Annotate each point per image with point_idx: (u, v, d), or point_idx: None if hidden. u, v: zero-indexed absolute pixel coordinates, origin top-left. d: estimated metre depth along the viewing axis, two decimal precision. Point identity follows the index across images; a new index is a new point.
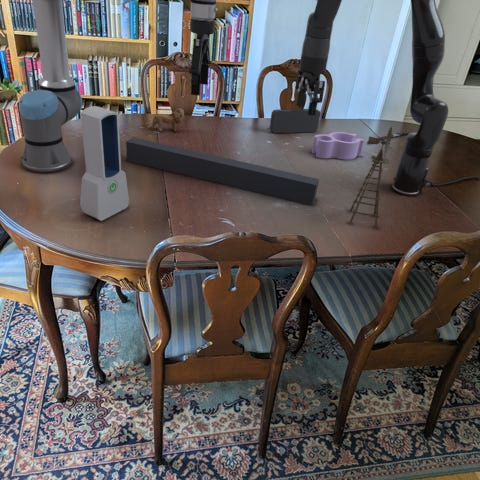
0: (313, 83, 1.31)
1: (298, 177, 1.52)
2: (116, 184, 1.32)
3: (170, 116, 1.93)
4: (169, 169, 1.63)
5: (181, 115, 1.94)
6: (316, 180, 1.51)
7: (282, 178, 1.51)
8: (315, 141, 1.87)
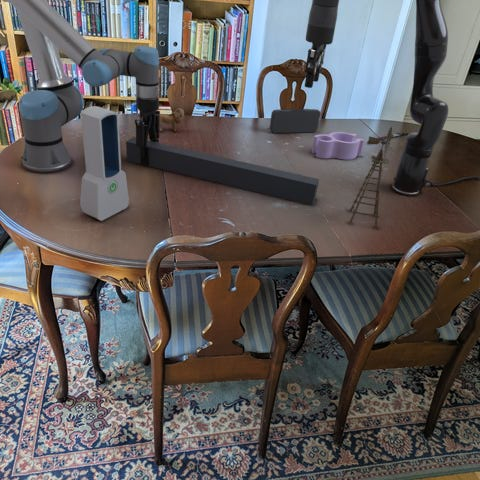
0: None
1: (298, 177, 1.52)
2: (116, 184, 1.32)
3: (170, 116, 1.93)
4: (169, 169, 1.63)
5: (181, 115, 1.94)
6: (316, 180, 1.51)
7: (282, 178, 1.51)
8: (315, 141, 1.87)
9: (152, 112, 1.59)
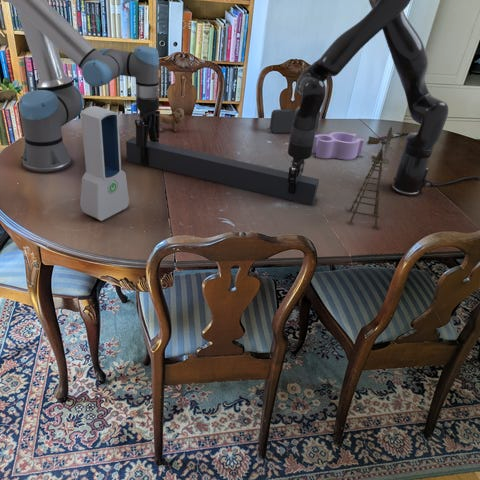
0: (292, 166, 1.46)
1: (298, 177, 1.52)
2: (116, 184, 1.32)
3: (170, 116, 1.93)
4: (169, 169, 1.63)
5: (181, 115, 1.94)
6: (316, 180, 1.51)
7: (282, 178, 1.51)
8: (315, 141, 1.87)
9: (152, 112, 1.59)
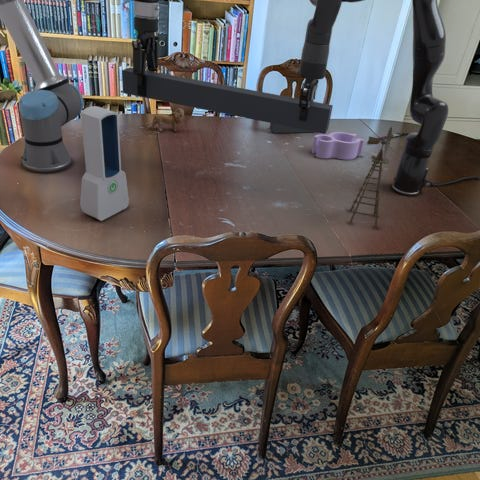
0: (304, 87, 1.33)
1: (310, 103, 1.39)
2: (116, 184, 1.32)
3: (170, 116, 1.93)
4: (169, 101, 1.50)
5: (181, 115, 1.94)
6: (329, 106, 1.38)
7: (292, 103, 1.38)
8: (315, 141, 1.87)
9: (151, 35, 1.46)
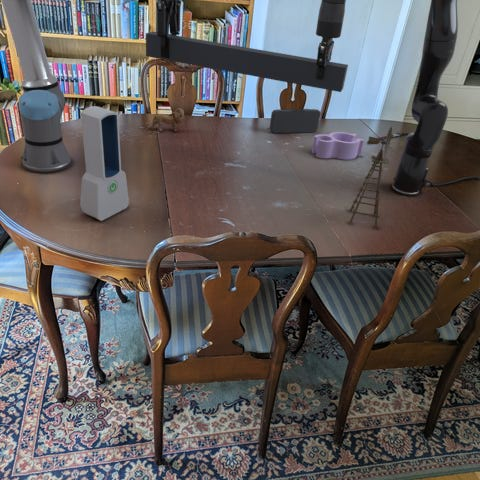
0: (321, 46, 1.40)
1: (327, 62, 1.46)
2: (116, 184, 1.32)
3: (170, 116, 1.93)
4: (191, 62, 1.58)
5: (181, 115, 1.94)
6: (345, 65, 1.45)
7: (310, 62, 1.45)
8: (315, 141, 1.87)
9: None
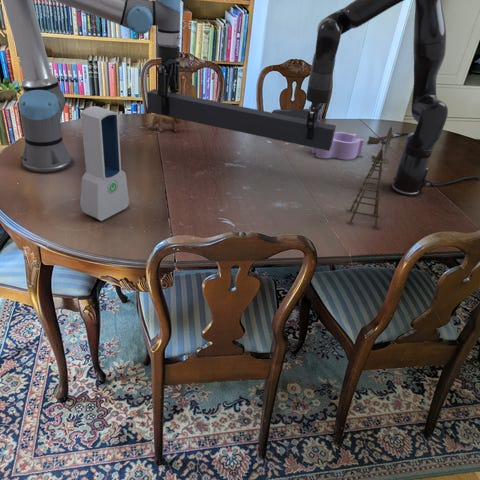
0: (310, 110, 1.51)
1: (316, 123, 1.57)
2: (116, 184, 1.32)
3: None
4: (190, 119, 1.68)
5: None
6: (333, 126, 1.56)
7: (300, 123, 1.56)
8: None
9: (173, 61, 1.64)
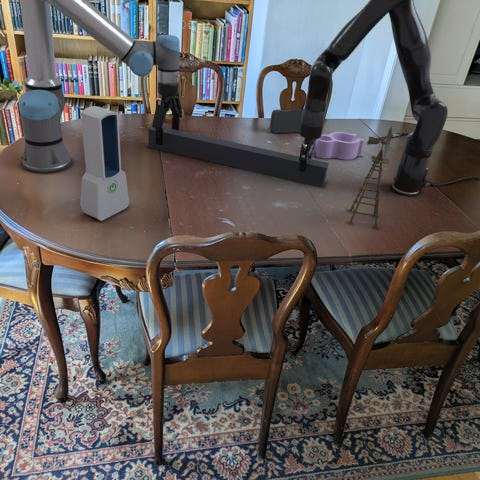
0: None
1: (310, 161, 1.64)
2: (116, 184, 1.32)
3: (170, 116, 1.93)
4: (189, 155, 1.76)
5: None
6: (326, 164, 1.63)
7: (294, 161, 1.63)
8: None
9: None
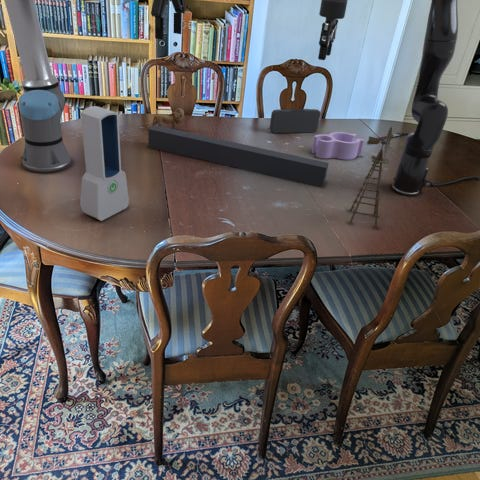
0: None
1: (310, 161, 1.64)
2: (116, 184, 1.32)
3: (170, 116, 1.93)
4: (189, 155, 1.76)
5: (181, 115, 1.94)
6: (326, 164, 1.63)
7: (294, 161, 1.63)
8: (315, 141, 1.87)
9: None
